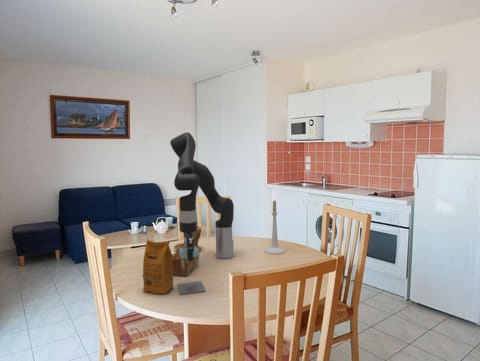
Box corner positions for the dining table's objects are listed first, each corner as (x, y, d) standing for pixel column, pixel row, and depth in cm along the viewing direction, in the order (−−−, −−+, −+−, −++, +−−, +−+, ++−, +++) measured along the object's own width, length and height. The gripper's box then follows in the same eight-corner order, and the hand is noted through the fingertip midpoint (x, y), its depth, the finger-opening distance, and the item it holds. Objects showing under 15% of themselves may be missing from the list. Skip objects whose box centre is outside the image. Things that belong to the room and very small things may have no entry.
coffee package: (153, 283, 163) (151, 236, 161) (176, 287, 158) (174, 238, 156) (139, 292, 154) (137, 242, 152) (163, 296, 149) (161, 245, 147)
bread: (188, 277, 170) (187, 256, 169) (167, 275, 172) (166, 255, 171) (200, 263, 188) (199, 245, 187) (181, 263, 191) (180, 244, 190)
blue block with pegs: (179, 265, 158) (179, 248, 157) (197, 263, 160) (197, 247, 159) (181, 269, 152) (180, 252, 151) (199, 267, 154) (199, 251, 153)
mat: (201, 282, 164) (201, 280, 163) (205, 291, 153) (205, 290, 153) (177, 285, 161) (176, 283, 161) (179, 295, 150) (179, 293, 150)
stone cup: (206, 249, 213) (205, 224, 212) (193, 255, 203) (192, 229, 202) (186, 245, 221) (185, 222, 220) (173, 251, 211) (172, 226, 210)
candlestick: (280, 255, 199) (279, 202, 195) (259, 252, 205) (259, 201, 202) (289, 249, 210) (289, 199, 206) (269, 246, 216) (269, 197, 213)
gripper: (177, 217, 159) (178, 254, 161) (181, 224, 146) (182, 264, 147) (194, 216, 161) (195, 252, 163) (199, 223, 148) (200, 262, 149)
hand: (189, 258), depth 155 cm, fingers closed on blue block with pegs, 6 cm apart
